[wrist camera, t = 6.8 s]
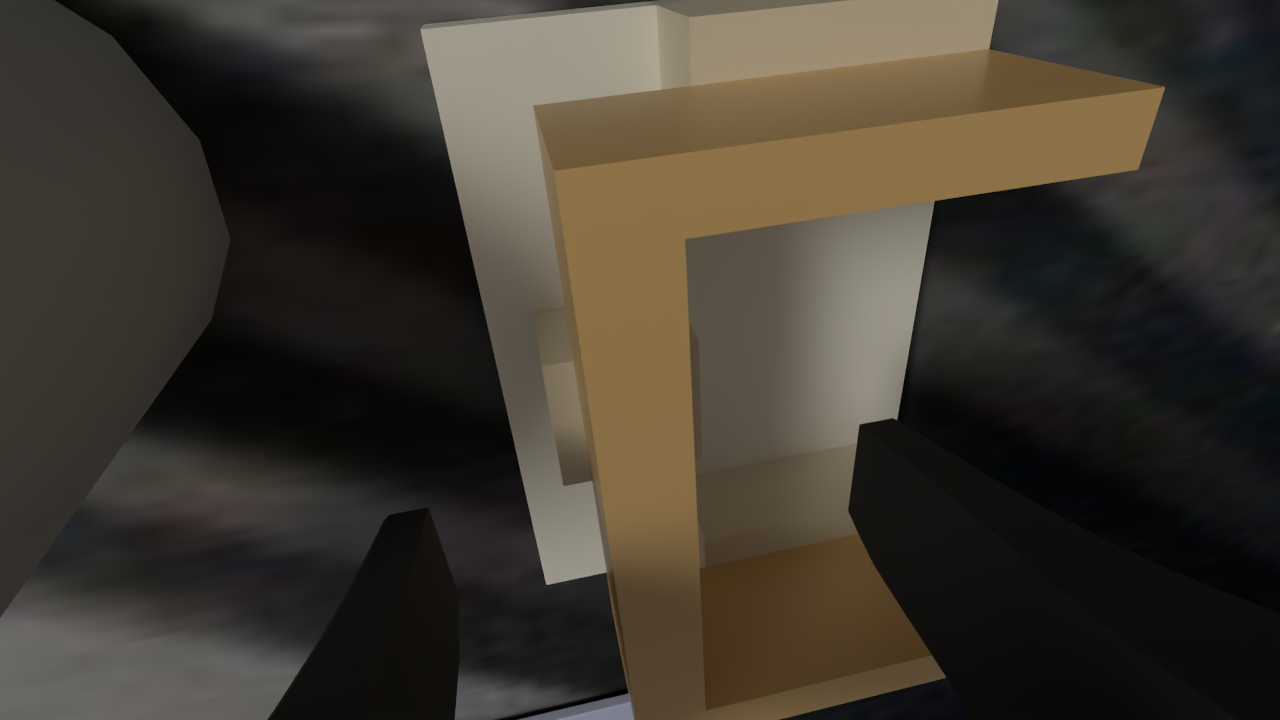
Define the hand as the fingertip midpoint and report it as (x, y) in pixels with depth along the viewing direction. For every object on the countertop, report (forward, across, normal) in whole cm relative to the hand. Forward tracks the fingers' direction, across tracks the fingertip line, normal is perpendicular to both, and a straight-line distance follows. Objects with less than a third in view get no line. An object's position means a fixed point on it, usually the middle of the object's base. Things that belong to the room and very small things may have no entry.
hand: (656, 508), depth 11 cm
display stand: (+6, -2, 0) cm, 6 cm away
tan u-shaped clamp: (+3, -3, 0) cm, 4 cm away
